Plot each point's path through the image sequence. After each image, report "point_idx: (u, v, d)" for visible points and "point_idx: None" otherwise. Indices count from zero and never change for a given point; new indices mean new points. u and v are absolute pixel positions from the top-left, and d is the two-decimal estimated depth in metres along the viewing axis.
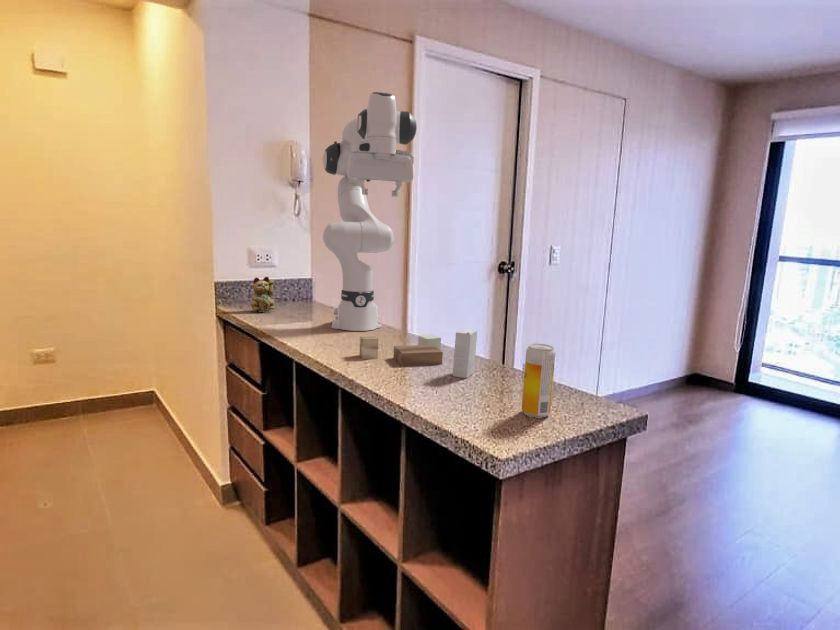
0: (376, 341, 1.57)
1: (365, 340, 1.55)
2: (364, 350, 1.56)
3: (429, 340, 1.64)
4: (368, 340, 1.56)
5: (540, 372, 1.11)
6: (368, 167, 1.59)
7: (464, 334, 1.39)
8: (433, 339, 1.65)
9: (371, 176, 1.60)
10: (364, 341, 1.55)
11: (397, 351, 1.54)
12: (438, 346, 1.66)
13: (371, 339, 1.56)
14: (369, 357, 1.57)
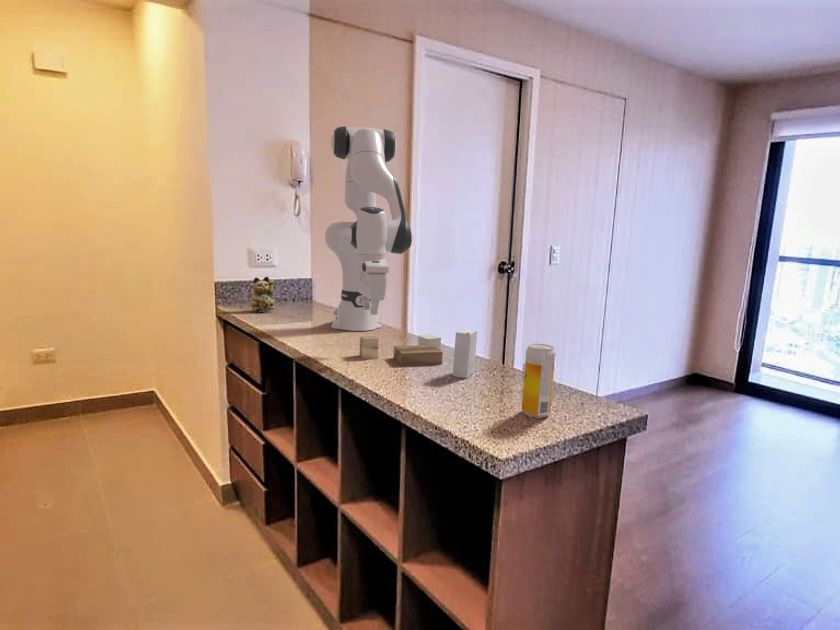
0: (376, 341, 1.57)
1: (365, 340, 1.55)
2: (364, 350, 1.56)
3: (429, 340, 1.64)
4: (368, 340, 1.56)
5: (540, 372, 1.11)
6: None
7: (464, 334, 1.39)
8: (433, 339, 1.65)
9: None
10: (364, 341, 1.55)
11: (397, 351, 1.55)
12: (438, 346, 1.66)
13: (371, 339, 1.56)
14: (369, 357, 1.57)
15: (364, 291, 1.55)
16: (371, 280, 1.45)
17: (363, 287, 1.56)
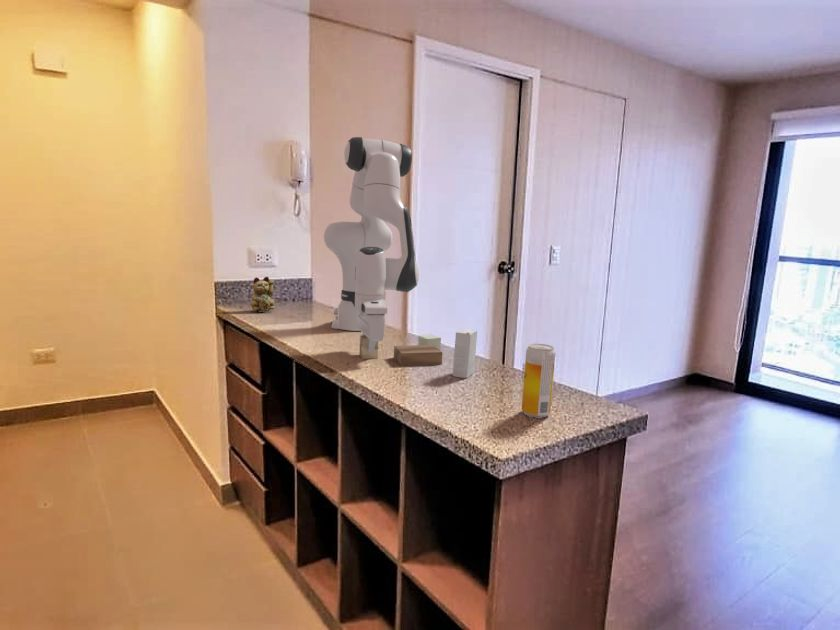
0: (376, 341, 1.57)
1: (365, 340, 1.55)
2: (364, 349, 1.56)
3: (429, 340, 1.64)
4: None
5: (540, 372, 1.11)
6: None
7: (464, 334, 1.39)
8: (433, 339, 1.65)
9: None
10: (364, 341, 1.55)
11: (397, 351, 1.55)
12: (438, 346, 1.66)
13: None
14: (369, 357, 1.57)
15: (363, 329, 1.57)
16: (370, 321, 1.47)
17: (362, 325, 1.58)
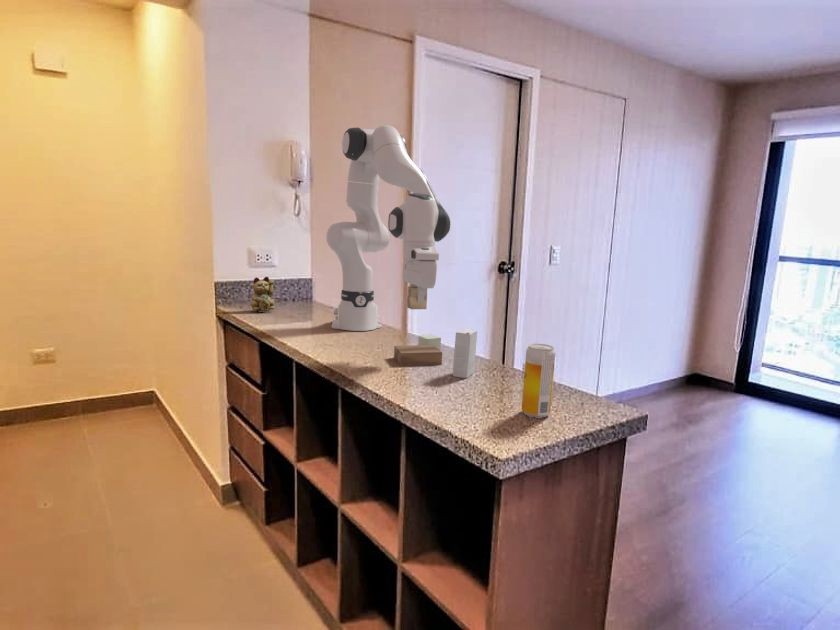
0: None
1: (414, 289, 1.50)
2: (413, 300, 1.50)
3: (429, 340, 1.64)
4: (417, 290, 1.50)
5: (540, 372, 1.11)
6: None
7: (464, 334, 1.39)
8: (433, 339, 1.65)
9: None
10: (413, 290, 1.50)
11: (397, 351, 1.55)
12: (438, 346, 1.66)
13: None
14: (418, 307, 1.51)
15: (411, 279, 1.51)
16: (421, 267, 1.42)
17: (410, 275, 1.53)
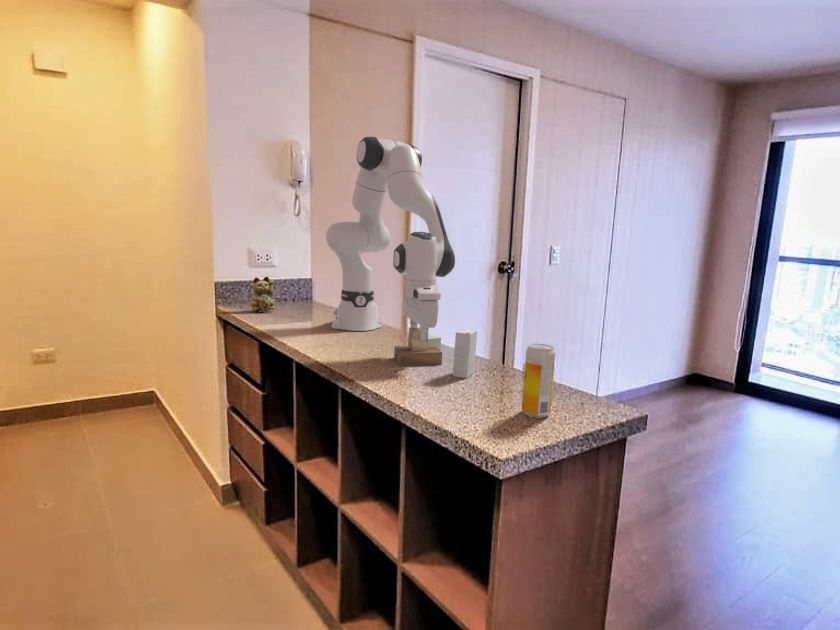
0: None
1: (415, 332, 1.52)
2: (414, 341, 1.53)
3: (429, 340, 1.64)
4: (418, 332, 1.53)
5: (540, 372, 1.11)
6: None
7: (464, 334, 1.39)
8: (433, 339, 1.65)
9: None
10: (414, 333, 1.52)
11: (397, 351, 1.55)
12: (438, 346, 1.66)
13: None
14: (419, 349, 1.54)
15: (413, 316, 1.53)
16: (423, 307, 1.44)
17: (412, 312, 1.55)
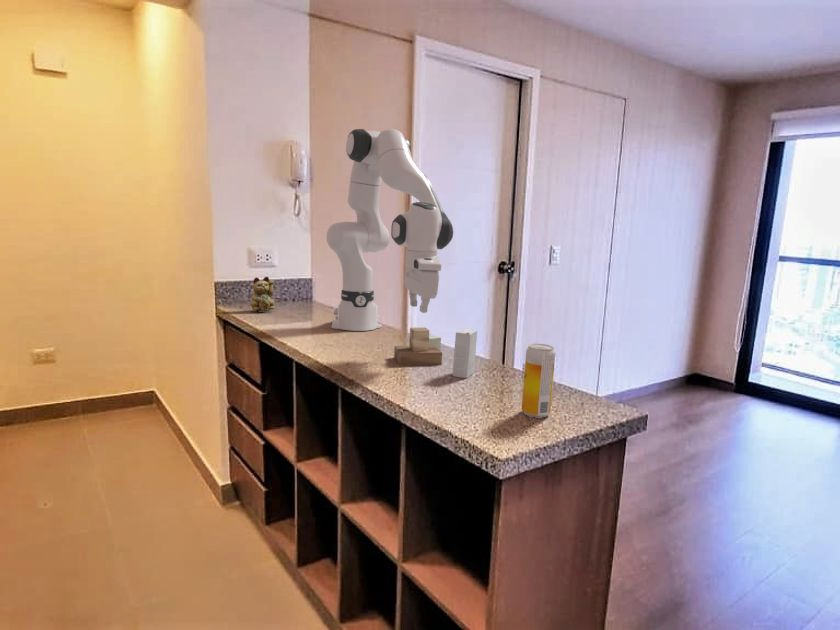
0: (427, 333, 1.53)
1: (416, 332, 1.52)
2: (415, 342, 1.53)
3: (429, 340, 1.64)
4: (419, 332, 1.53)
5: (540, 372, 1.11)
6: None
7: (464, 334, 1.39)
8: (433, 339, 1.65)
9: None
10: (415, 333, 1.52)
11: (397, 351, 1.55)
12: (438, 346, 1.66)
13: (422, 331, 1.53)
14: (420, 349, 1.54)
15: (413, 288, 1.52)
16: (424, 278, 1.43)
17: (412, 284, 1.53)
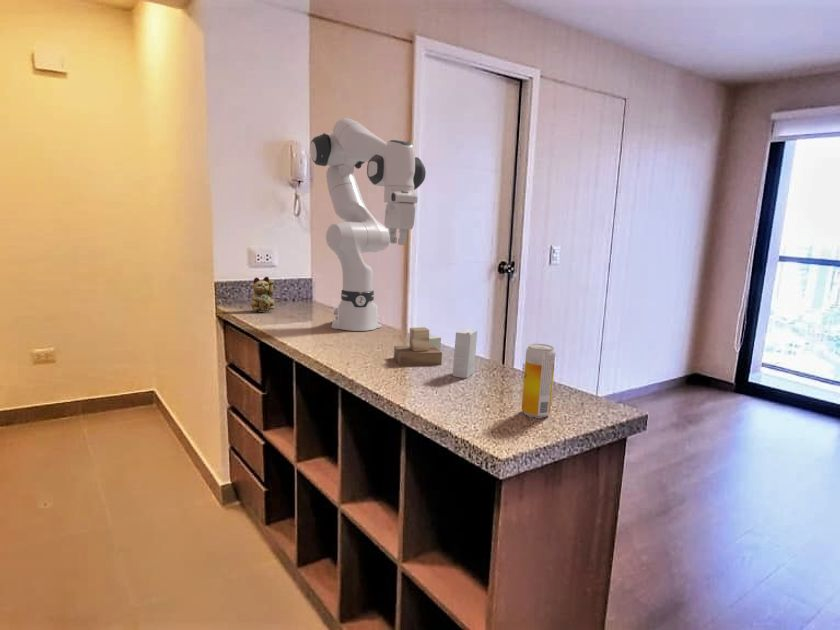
0: (427, 332, 1.53)
1: (416, 332, 1.52)
2: (415, 341, 1.53)
3: (429, 340, 1.64)
4: (419, 332, 1.52)
5: (540, 372, 1.11)
6: None
7: (464, 334, 1.39)
8: (433, 339, 1.65)
9: None
10: (415, 333, 1.52)
11: (397, 351, 1.55)
12: (438, 346, 1.66)
13: (422, 330, 1.53)
14: (420, 349, 1.53)
15: (392, 223, 1.59)
16: (401, 208, 1.50)
17: (391, 220, 1.60)
